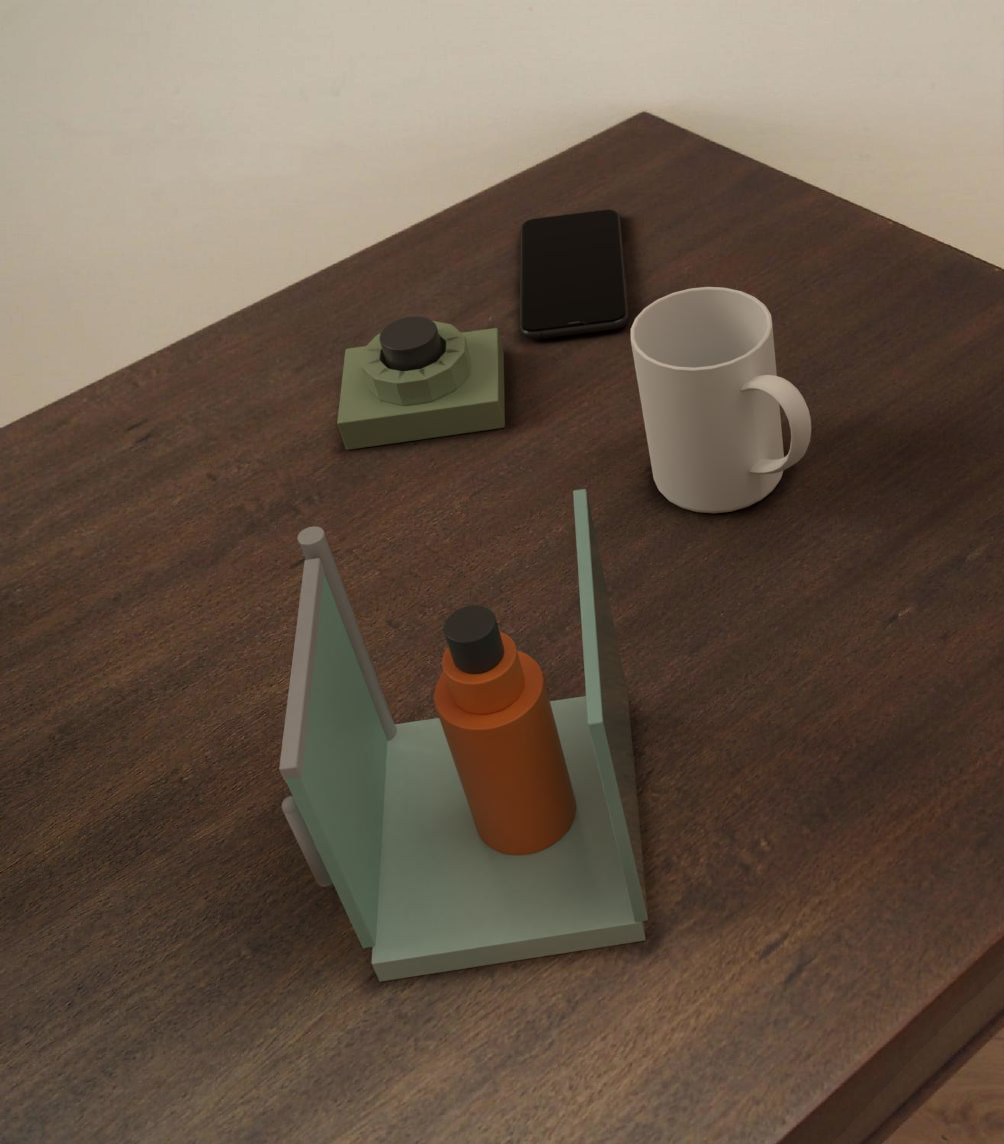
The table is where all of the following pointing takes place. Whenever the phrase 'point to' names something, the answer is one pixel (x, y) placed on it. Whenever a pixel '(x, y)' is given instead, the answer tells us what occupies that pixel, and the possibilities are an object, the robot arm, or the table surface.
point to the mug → (714, 399)
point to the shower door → (334, 758)
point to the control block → (423, 391)
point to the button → (411, 343)
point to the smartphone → (572, 275)
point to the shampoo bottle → (502, 736)
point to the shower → (450, 839)
